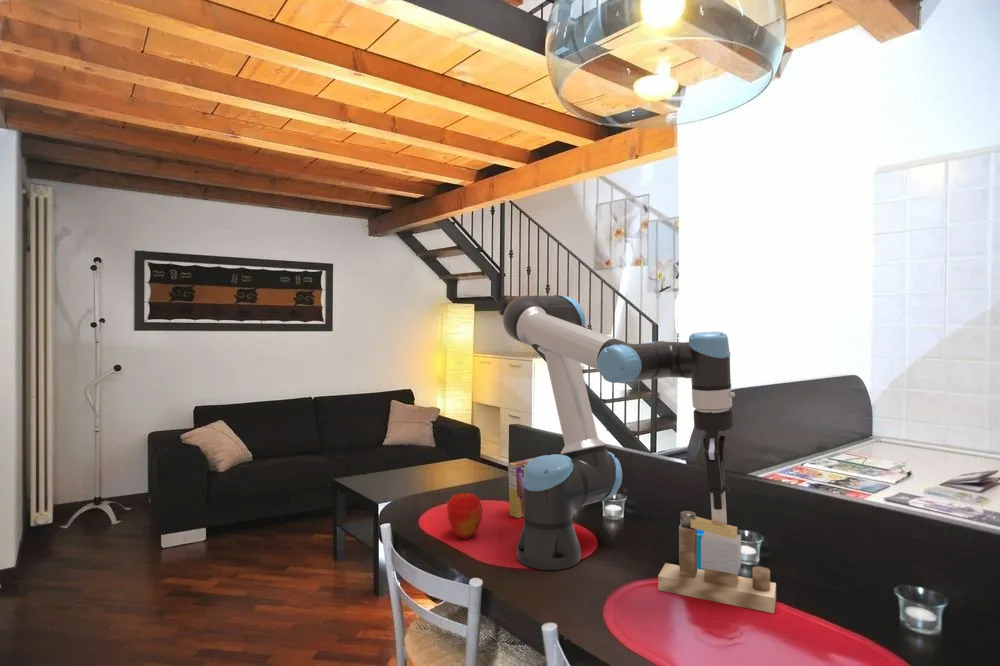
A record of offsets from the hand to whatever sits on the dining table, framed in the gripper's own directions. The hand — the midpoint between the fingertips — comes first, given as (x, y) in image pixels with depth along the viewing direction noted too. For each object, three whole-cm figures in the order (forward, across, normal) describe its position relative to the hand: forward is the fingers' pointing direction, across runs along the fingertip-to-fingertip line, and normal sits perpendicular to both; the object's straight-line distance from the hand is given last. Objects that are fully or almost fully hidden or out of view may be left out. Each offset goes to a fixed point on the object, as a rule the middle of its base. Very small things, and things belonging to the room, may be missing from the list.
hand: (719, 522), depth 121 cm
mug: (+16, +15, +6) cm, 22 cm away
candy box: (+14, +28, +57) cm, 65 cm away
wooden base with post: (+15, -1, +1) cm, 15 cm away
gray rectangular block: (+9, 0, 0) cm, 9 cm away
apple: (+12, +6, +64) cm, 66 cm away
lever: (+1, -1, +2) cm, 3 cm away
